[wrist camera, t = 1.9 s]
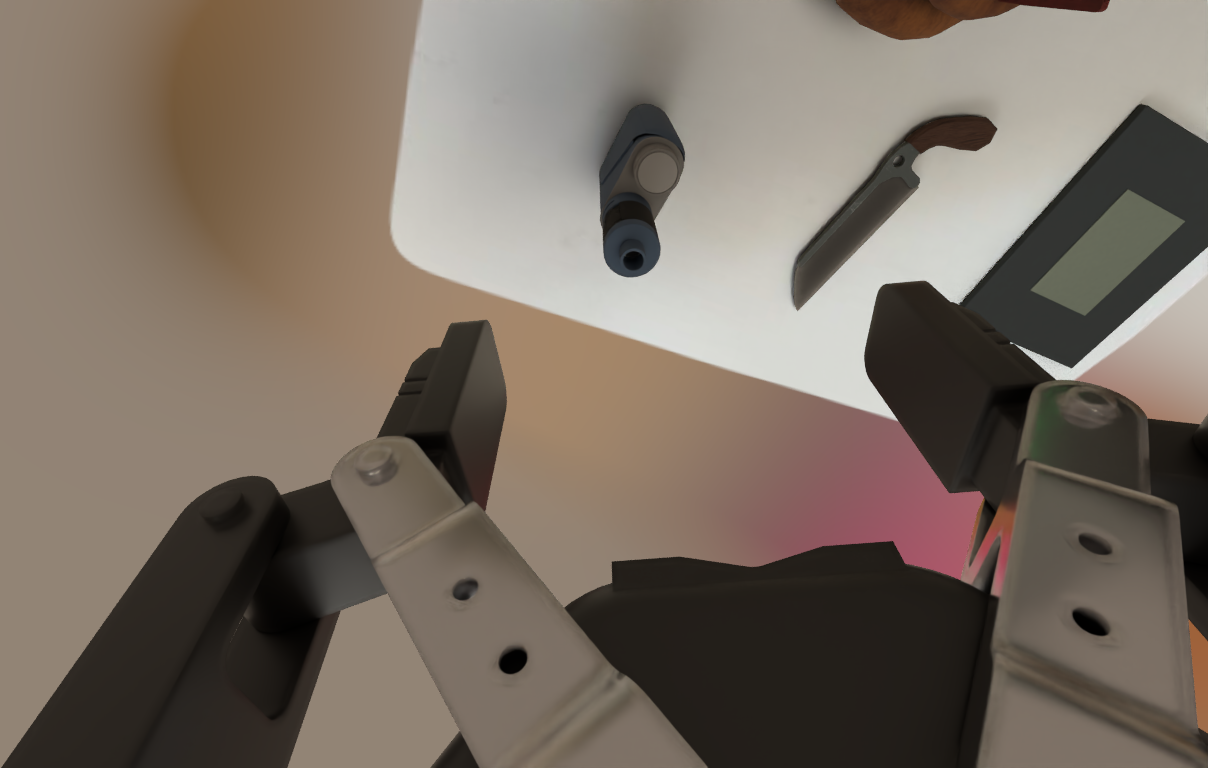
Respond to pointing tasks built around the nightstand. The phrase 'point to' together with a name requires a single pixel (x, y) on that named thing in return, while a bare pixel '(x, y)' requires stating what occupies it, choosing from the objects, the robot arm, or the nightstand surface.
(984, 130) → the knife
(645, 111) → the vaping device
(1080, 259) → the mat
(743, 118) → the nightstand surface
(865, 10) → the wooden figurine
